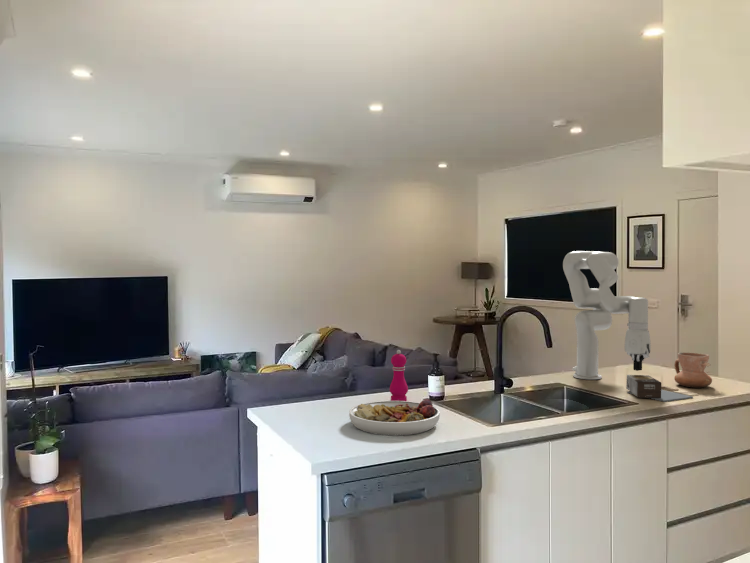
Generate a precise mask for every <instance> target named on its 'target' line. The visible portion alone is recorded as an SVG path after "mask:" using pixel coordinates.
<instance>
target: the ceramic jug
mask: <svg viewBox="0 0 750 563" xmlns="http://www.w3.org/2000/svg"><path fill="white" fill-rule="evenodd" d="M709 359H710V354H707V353H696V352H695V353H694V352H689V351H688V352H683V351H680V352H678V353H677V358H676V359H675V361H674V369H675V373H676V374H675V375H674V381H675V383H677V384H679V385H680V386H682V387H685V388H686V387H687V388H692V389H699V388H707V387H709V386H710V385H711V384H712V382H713V379H712V377H711V376H710V375H709V374H707V373H706V372H705V369H706V367H708V368H709V367H710V366H711V364H710V363H709ZM679 365H680V366H679ZM680 367H681V369H682V370H680Z"/></svg>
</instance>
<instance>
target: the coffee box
mask: <svg viewBox="0 0 750 563" xmlns="http://www.w3.org/2000/svg"><path fill="white" fill-rule="evenodd" d="M661 385H662V381H659V380H657V379H656V378H654V377H652V376H651V375H645V374H626V390H628V391H630V392H632V393H633V394H634V396H636V398H647V399H650V398H661V390H662V389H661ZM633 394H632V395H633Z"/></svg>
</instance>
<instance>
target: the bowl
mask: <svg viewBox="0 0 750 563" xmlns="http://www.w3.org/2000/svg"><path fill="white" fill-rule="evenodd" d="M348 413H349V414H348V416H349V419H350V422H351V423H352V425H353V426H355V427H356V428H357V429H358V430H361V431H363V432H364V433H369V434H372V435H373V434H374V435H380V436H409V435H416V434H417V435H418V434H421V433H425V432H427V431H429V430H431V429H433V428H434V427H435V426H436V425H437V424H438V423H439V421H440V416H441V413H440V410H439V409H438V408H437V407H435V406H433V402H432V401H431V400H430V399H428V398H425V399H423V400H422V401H420V402H417V401H408V400H407V401H391V400H379V401H369V402H364V403H361V404H357V405H355V406H353V407H351V408H350V409H349V412H348Z"/></svg>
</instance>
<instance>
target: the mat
mask: <svg viewBox="0 0 750 563" xmlns="http://www.w3.org/2000/svg"><path fill="white" fill-rule="evenodd" d="M626 393H627V394H629V393H630V395H633V393H632V392H630V391H629V390H628V391H626ZM688 398H691V399H694V396H688V395H683V394H679V393H674V392H673V391H668V390H664V389H661V398H651V399H650V400H654V399H655V400H654V401H658V400H659V401H658V402H662V401H663V402H662V403H667V401H668V402H674V400H676V401H681V400H682V399H683V400H688ZM683 400H682V401H683Z"/></svg>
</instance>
